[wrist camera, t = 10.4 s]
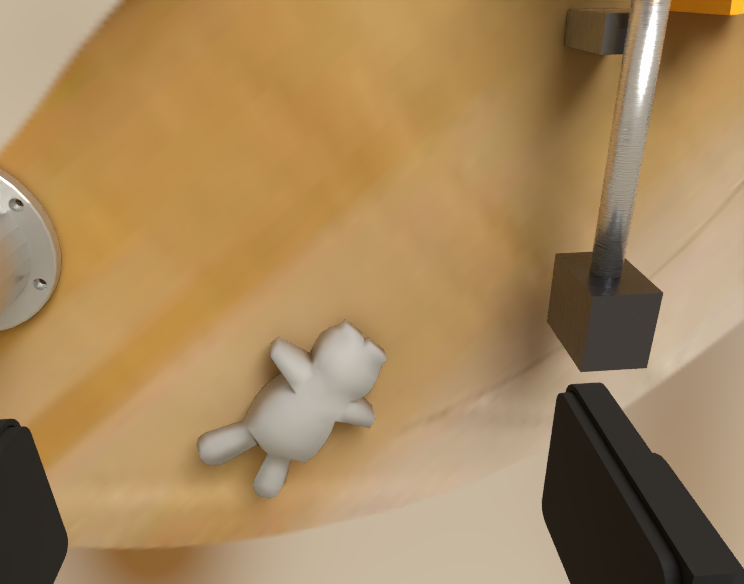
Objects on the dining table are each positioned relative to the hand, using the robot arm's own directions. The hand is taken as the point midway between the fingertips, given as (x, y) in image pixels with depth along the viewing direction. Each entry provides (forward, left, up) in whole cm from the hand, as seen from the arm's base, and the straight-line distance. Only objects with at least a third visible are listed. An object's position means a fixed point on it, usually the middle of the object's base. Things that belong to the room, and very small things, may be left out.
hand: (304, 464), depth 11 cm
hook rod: (+14, -10, -26) cm, 31 cm away
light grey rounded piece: (-12, -16, -31) cm, 37 cm away
